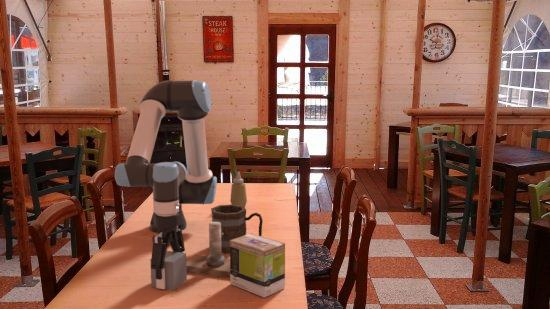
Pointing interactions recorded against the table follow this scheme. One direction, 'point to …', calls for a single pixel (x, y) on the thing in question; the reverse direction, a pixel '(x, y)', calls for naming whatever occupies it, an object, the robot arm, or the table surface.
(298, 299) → the table surface
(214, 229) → the brown base with rod
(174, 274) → the gray cube
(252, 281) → the tea box
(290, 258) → the table surface
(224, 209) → the mug
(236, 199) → the squeeze bottle
